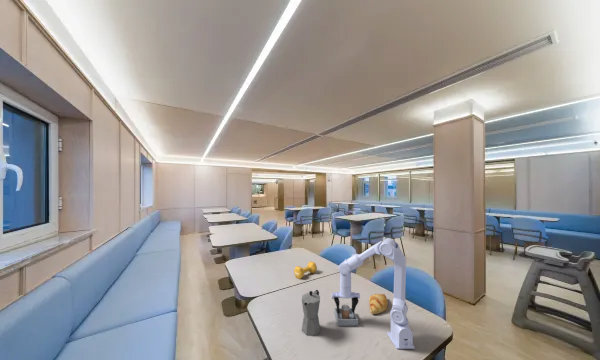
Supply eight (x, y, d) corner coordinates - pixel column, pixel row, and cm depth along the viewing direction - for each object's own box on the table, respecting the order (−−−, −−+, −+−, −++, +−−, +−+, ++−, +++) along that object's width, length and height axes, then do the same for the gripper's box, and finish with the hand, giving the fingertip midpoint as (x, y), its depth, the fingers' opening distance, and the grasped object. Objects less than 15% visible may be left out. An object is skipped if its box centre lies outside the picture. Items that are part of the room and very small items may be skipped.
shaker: (350, 321, 103) (350, 309, 103) (342, 321, 103) (342, 309, 103) (348, 316, 107) (348, 304, 108) (340, 316, 107) (340, 304, 108)
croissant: (377, 324, 107) (384, 313, 105) (360, 309, 113) (367, 298, 110) (388, 305, 124) (394, 295, 122) (373, 292, 129) (379, 283, 127)
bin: (358, 326, 100) (358, 320, 101) (338, 326, 100) (337, 320, 100) (352, 313, 110) (352, 308, 111) (334, 313, 110) (334, 308, 110)
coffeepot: (314, 342, 90) (314, 300, 91) (295, 334, 95) (295, 295, 95) (326, 321, 104) (326, 285, 104) (310, 316, 108) (310, 281, 109)
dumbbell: (300, 280, 149) (300, 269, 150) (292, 276, 156) (292, 266, 156) (318, 273, 162) (318, 263, 162) (310, 270, 169) (310, 260, 169)
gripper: (357, 281, 110) (357, 307, 110) (330, 281, 110) (330, 307, 109) (361, 288, 103) (361, 315, 103) (332, 288, 103) (332, 315, 102)
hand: (345, 311), depth 105 cm, fingers open, 7 cm apart
